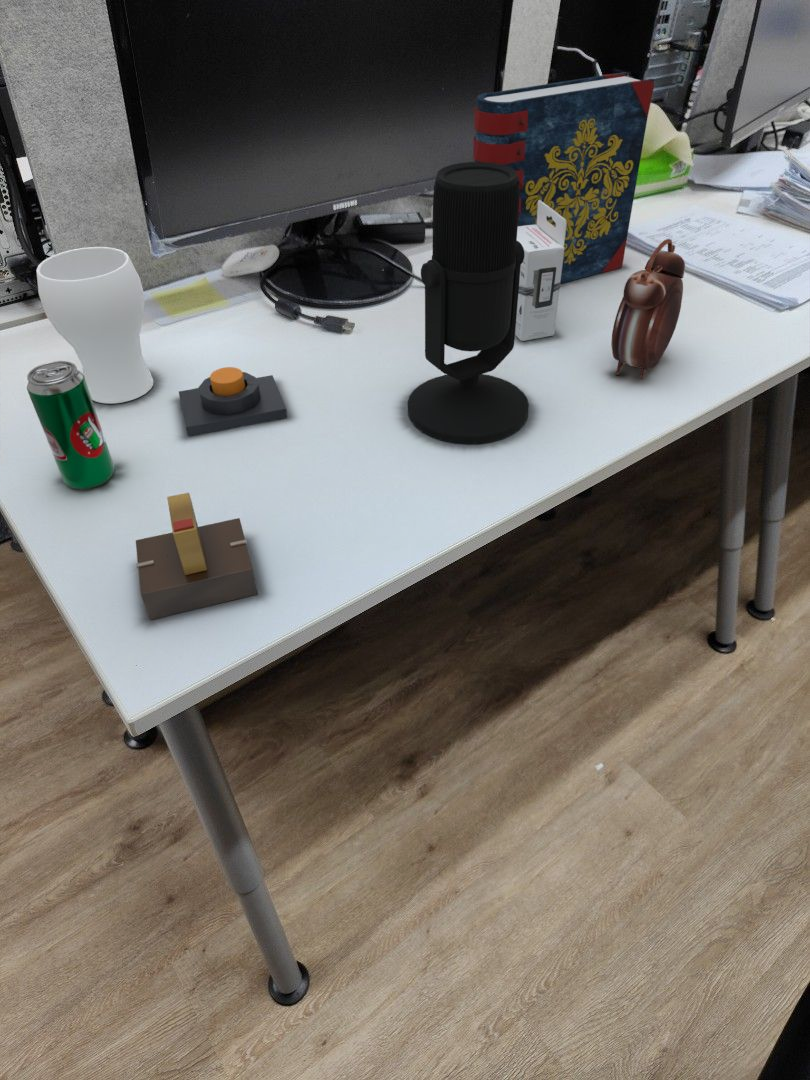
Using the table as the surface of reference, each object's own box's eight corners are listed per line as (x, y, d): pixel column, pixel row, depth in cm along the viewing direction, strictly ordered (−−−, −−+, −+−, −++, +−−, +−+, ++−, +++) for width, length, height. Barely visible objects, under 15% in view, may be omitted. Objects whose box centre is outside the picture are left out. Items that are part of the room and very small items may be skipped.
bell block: (188, 436, 83) (182, 412, 81) (180, 400, 89) (174, 377, 87) (287, 417, 85) (284, 394, 83) (273, 383, 91) (270, 361, 89)
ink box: (495, 314, 104) (502, 202, 94) (528, 309, 105) (539, 197, 95) (520, 342, 98) (531, 225, 88) (556, 336, 99) (570, 220, 89)
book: (484, 306, 106) (495, 105, 89) (457, 288, 111) (463, 94, 94) (624, 269, 115) (658, 79, 98) (595, 253, 119) (622, 70, 103)
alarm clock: (636, 344, 97) (659, 223, 87) (673, 354, 95) (702, 231, 85) (601, 381, 90) (622, 254, 80) (640, 392, 88) (667, 264, 78)
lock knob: (178, 537, 66) (166, 494, 63) (199, 532, 66) (188, 489, 63) (185, 575, 62) (172, 531, 59) (207, 570, 63) (195, 526, 59)
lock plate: (148, 620, 63) (138, 593, 61) (142, 565, 68) (133, 538, 66) (259, 594, 65) (253, 567, 63) (245, 542, 70) (240, 515, 68)
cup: (141, 415, 86) (104, 286, 76) (56, 406, 88) (9, 279, 78) (180, 369, 94) (151, 247, 84) (101, 362, 96) (64, 242, 86)
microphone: (484, 369, 93) (496, 145, 76) (553, 421, 84) (583, 180, 67) (386, 399, 88) (376, 167, 71) (448, 458, 79) (453, 208, 62)
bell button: (215, 399, 84) (212, 385, 82) (210, 383, 86) (207, 370, 85) (247, 393, 84) (245, 379, 83) (242, 378, 87) (240, 364, 86)
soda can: (61, 470, 79) (20, 366, 71) (111, 457, 80) (77, 353, 72) (67, 497, 75) (24, 391, 67) (119, 483, 77) (84, 377, 69)
